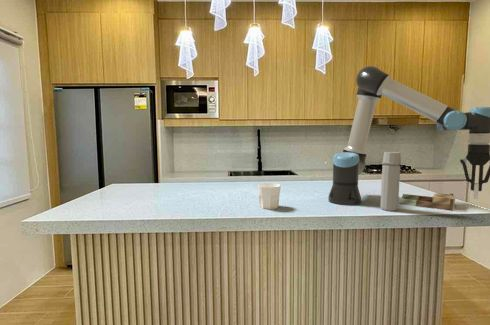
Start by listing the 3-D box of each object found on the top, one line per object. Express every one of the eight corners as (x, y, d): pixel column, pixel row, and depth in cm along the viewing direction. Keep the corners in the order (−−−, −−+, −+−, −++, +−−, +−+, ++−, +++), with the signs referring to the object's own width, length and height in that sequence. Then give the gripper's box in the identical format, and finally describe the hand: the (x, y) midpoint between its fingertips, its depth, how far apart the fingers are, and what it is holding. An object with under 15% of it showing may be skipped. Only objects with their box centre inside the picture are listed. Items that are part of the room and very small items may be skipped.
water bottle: (401, 212, 128) (404, 153, 126) (381, 211, 130) (384, 152, 127) (395, 206, 137) (398, 151, 135) (376, 205, 139) (379, 151, 136)
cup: (254, 208, 134) (255, 186, 133) (261, 203, 143) (261, 182, 142) (277, 210, 130) (277, 187, 129) (282, 205, 140) (282, 184, 138)
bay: (398, 204, 143) (399, 193, 142) (402, 198, 154) (403, 188, 154) (452, 210, 131) (453, 199, 130) (452, 204, 142) (453, 193, 142)
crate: (432, 207, 138) (432, 195, 137) (434, 203, 144) (435, 192, 144) (453, 210, 133) (454, 197, 133) (454, 206, 139) (455, 194, 139)
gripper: (460, 143, 130) (457, 198, 132) (500, 144, 123) (495, 201, 125) (460, 143, 136) (457, 195, 139) (497, 143, 129) (493, 198, 131)
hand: (475, 198), depth 132 cm, fingers closed
